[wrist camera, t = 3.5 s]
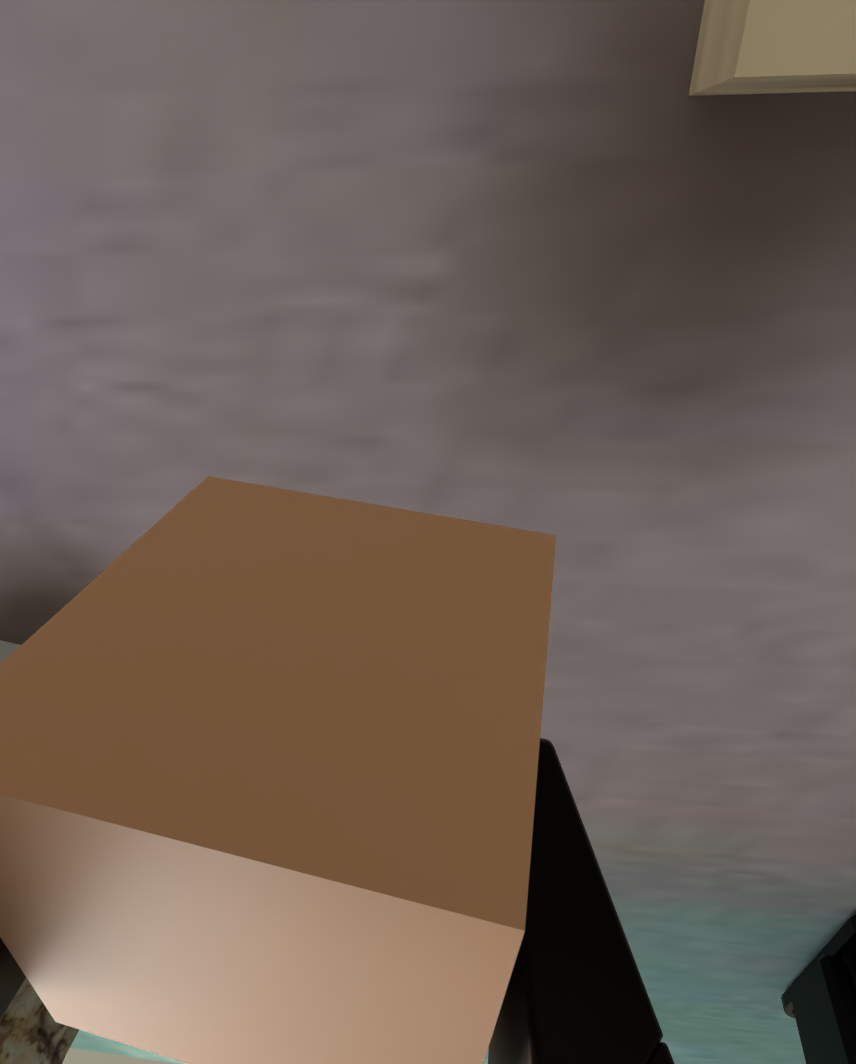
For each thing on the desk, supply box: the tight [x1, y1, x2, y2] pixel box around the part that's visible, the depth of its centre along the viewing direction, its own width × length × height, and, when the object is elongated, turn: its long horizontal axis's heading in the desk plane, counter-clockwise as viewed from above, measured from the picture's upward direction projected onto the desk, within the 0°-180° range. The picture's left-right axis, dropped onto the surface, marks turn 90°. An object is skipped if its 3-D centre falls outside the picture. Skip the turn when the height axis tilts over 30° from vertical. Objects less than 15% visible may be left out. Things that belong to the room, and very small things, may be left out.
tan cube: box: [0, 476, 556, 1064], centre depth 8 cm, size 5×5×5 cm
